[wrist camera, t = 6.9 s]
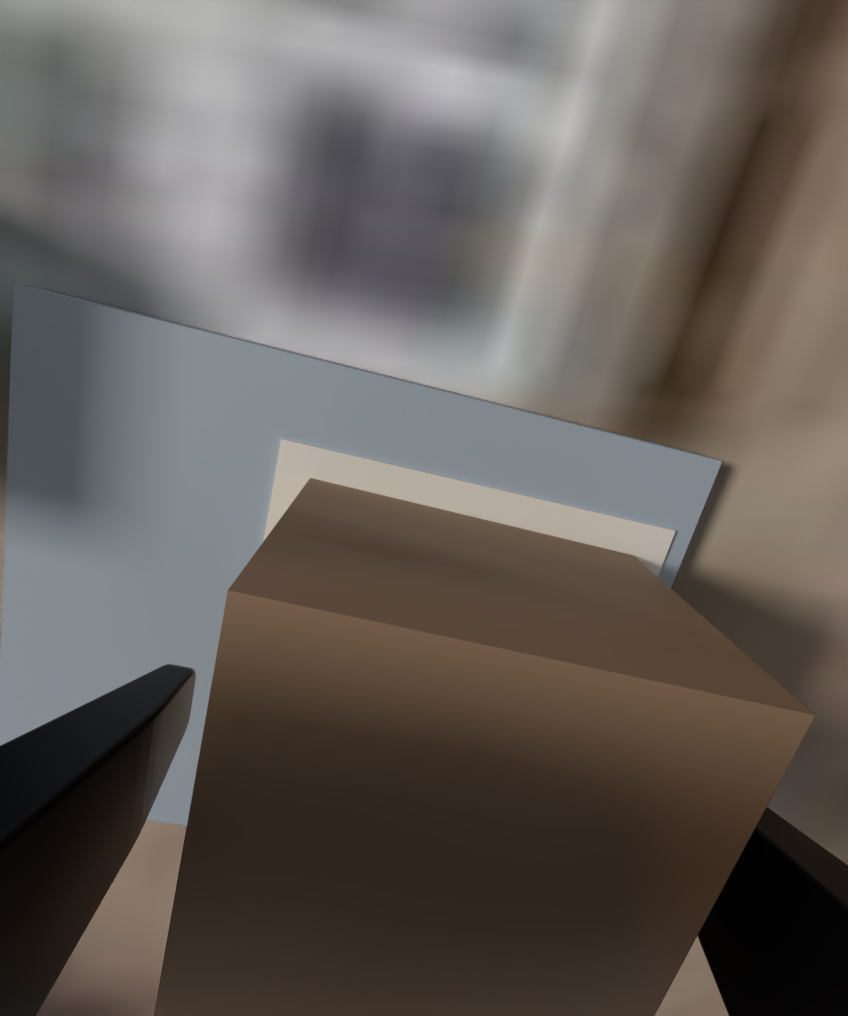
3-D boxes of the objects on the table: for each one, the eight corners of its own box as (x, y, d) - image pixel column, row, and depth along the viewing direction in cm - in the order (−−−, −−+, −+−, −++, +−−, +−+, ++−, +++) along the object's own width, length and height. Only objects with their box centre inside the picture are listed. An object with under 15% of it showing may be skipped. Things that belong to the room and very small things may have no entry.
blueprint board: (544, 858, 13) (553, 886, 12) (16, 773, 11) (-8, 800, 11) (704, 454, 10) (725, 462, 9) (38, 287, 9) (8, 283, 8)
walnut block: (533, 810, 11) (613, 1091, 7) (252, 759, 11) (151, 1034, 6) (633, 554, 10) (815, 716, 5) (309, 477, 9) (227, 590, 5)
